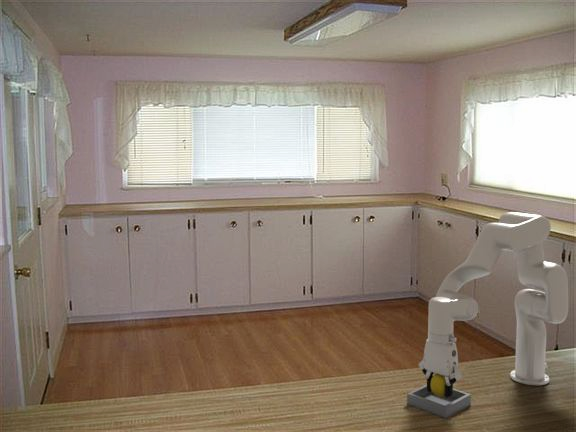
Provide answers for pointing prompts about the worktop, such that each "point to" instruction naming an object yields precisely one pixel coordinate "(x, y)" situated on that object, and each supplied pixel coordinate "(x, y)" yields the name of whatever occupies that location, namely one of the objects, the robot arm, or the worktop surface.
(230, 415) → the worktop surface
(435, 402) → the box
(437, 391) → the lemon
